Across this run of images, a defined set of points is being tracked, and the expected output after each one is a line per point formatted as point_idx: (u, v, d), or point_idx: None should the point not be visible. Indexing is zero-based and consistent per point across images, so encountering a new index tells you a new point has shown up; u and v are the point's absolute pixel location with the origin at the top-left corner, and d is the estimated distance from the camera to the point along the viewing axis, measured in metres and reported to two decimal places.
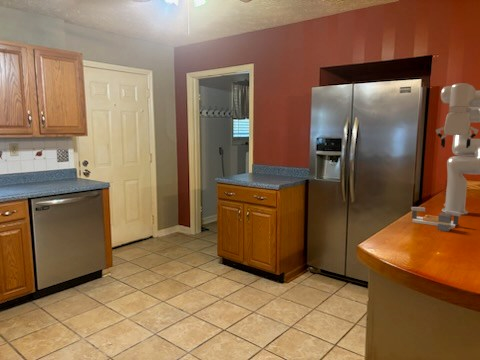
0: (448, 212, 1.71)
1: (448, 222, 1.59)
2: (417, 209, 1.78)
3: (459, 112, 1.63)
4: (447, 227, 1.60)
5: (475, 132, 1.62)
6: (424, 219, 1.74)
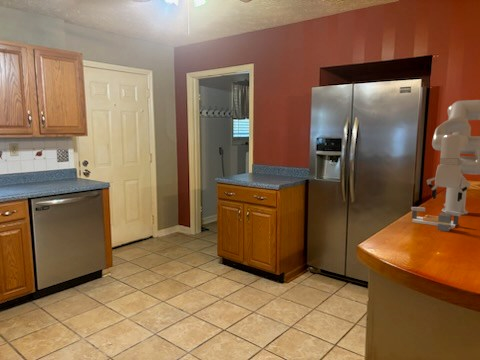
0: (448, 212, 1.71)
1: (448, 222, 1.59)
2: (417, 209, 1.78)
3: (450, 164, 1.56)
4: (447, 227, 1.60)
5: (467, 185, 1.56)
6: (424, 219, 1.74)
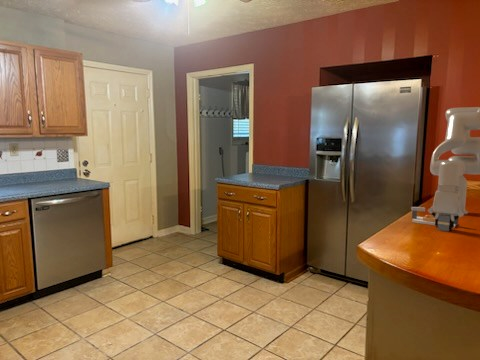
0: None
1: (448, 222, 1.59)
2: (417, 209, 1.78)
3: (447, 192, 1.58)
4: (447, 227, 1.60)
5: (459, 215, 1.59)
6: (424, 219, 1.74)
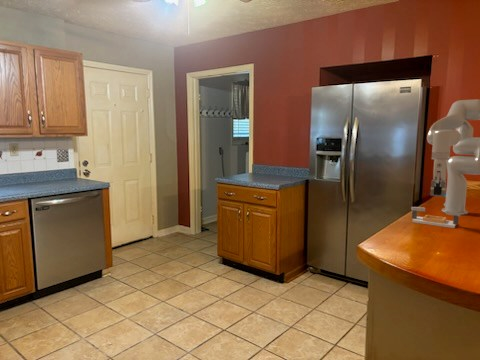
0: (448, 212, 1.71)
1: None
2: (417, 209, 1.78)
3: None
4: None
5: None
6: (424, 219, 1.74)
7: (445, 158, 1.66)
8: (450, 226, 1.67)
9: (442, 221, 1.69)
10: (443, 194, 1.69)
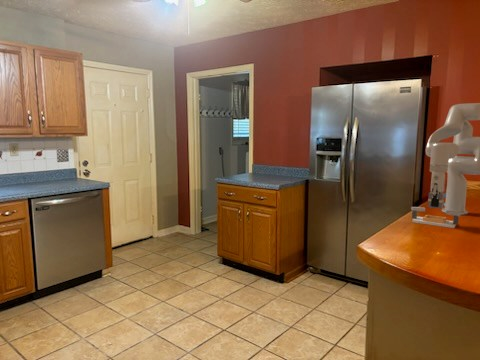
0: (448, 212, 1.71)
1: (428, 198, 1.74)
2: (417, 209, 1.78)
3: None
4: (428, 203, 1.74)
5: None
6: (424, 219, 1.74)
7: (442, 171, 1.68)
8: (450, 226, 1.67)
9: (442, 221, 1.69)
10: (440, 206, 1.70)
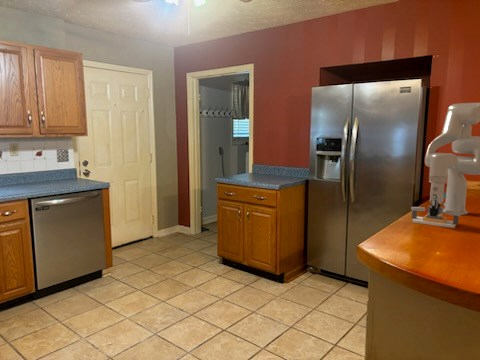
0: (448, 212, 1.71)
1: None
2: (417, 209, 1.78)
3: None
4: (427, 216, 1.75)
5: (432, 202, 1.68)
6: (424, 219, 1.74)
7: (441, 182, 1.69)
8: (450, 226, 1.67)
9: (442, 221, 1.69)
10: None
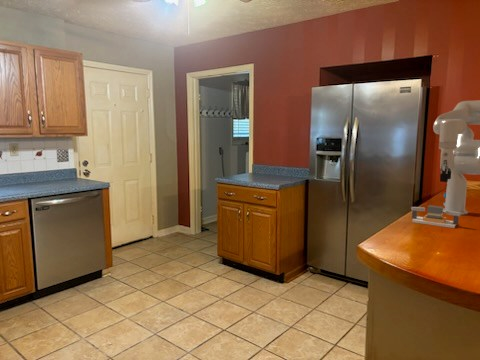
0: (448, 212, 1.71)
1: None
2: (417, 209, 1.78)
3: None
4: (427, 216, 1.75)
5: None
6: (424, 219, 1.74)
7: (452, 147, 1.69)
8: (450, 226, 1.67)
9: (442, 221, 1.69)
10: None
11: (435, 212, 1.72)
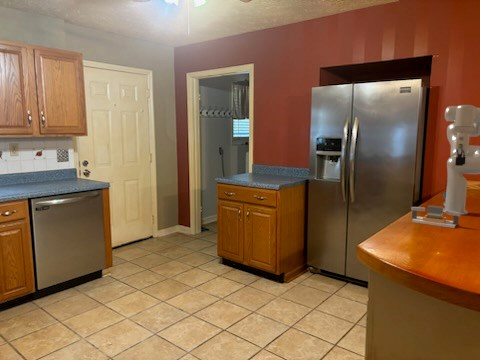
0: (448, 212, 1.71)
1: None
2: (417, 209, 1.78)
3: (454, 132, 1.78)
4: (427, 216, 1.75)
5: (458, 151, 1.72)
6: (424, 219, 1.74)
7: (467, 131, 1.72)
8: (450, 226, 1.67)
9: (442, 221, 1.69)
10: None
11: (435, 212, 1.72)
